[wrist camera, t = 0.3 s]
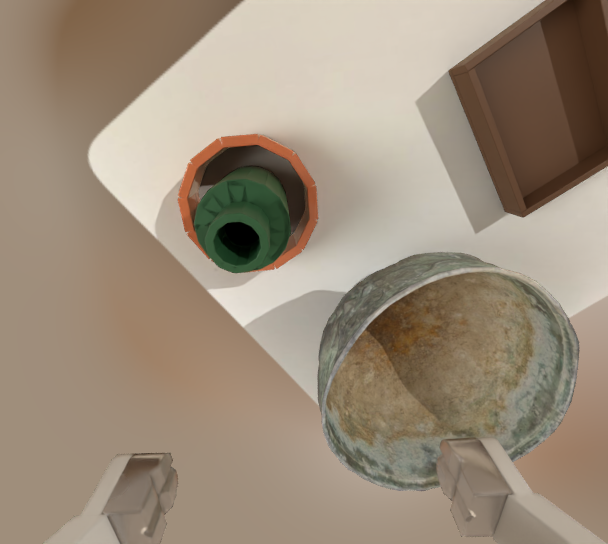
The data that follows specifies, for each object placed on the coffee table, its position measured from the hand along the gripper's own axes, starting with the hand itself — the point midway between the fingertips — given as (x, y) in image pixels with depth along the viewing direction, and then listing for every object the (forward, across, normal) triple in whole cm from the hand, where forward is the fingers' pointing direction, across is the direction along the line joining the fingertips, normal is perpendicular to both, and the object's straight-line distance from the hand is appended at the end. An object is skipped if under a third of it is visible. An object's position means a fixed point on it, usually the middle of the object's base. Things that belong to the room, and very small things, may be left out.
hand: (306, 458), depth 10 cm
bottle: (+24, +4, -3) cm, 25 cm away
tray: (+26, -22, -10) cm, 36 cm away
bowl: (+25, -10, +9) cm, 29 cm away
